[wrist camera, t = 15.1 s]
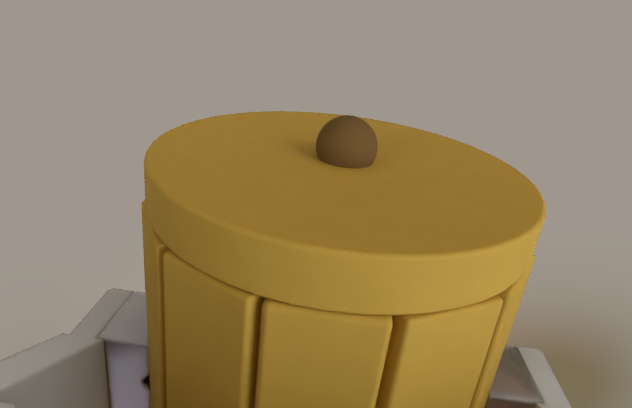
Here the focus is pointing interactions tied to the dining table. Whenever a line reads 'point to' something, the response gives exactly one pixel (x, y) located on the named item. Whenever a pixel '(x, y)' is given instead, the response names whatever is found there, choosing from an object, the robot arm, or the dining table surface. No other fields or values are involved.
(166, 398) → the slatted lidded canister
